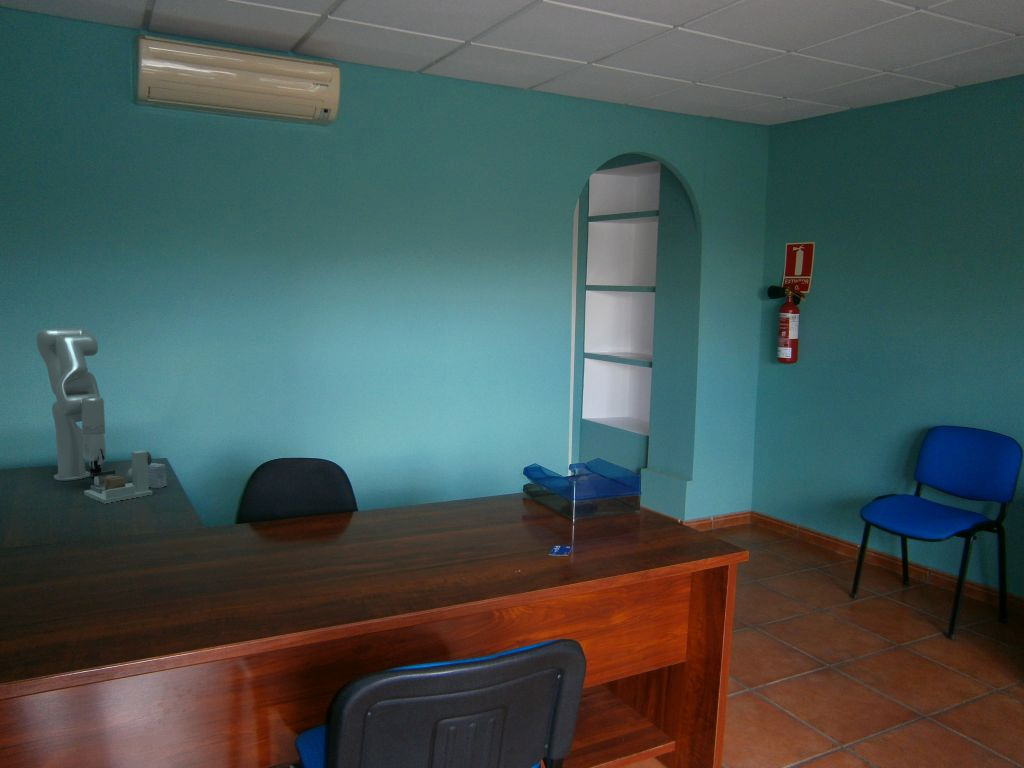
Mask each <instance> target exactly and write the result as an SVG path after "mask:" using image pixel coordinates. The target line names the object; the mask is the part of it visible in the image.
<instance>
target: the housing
mask: <svg viewBox="0 0 1024 768" xmlns="http://www.w3.org/2000/svg"><path fill="white" fill-rule="evenodd" d="M125 484H126V477H125V476H121V475H113V477H107V478H105V490H110V489H116V488H122V487H125Z"/></svg>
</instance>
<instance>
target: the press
mask: <svg viewBox="0 0 1024 768" xmlns="http://www.w3.org/2000/svg"><path fill="white" fill-rule="evenodd" d="M130 454H131V468H132V481H133V482H129V483H127V482H126V483H125V487H122V488H116V489H110V490H102V489H101V488H99V487H96V486H95V484H91V485H90V489H87V490H83V495H84V496H86V497H89V498H91V499H92V500H95V501H97V502H99V501H100V503H101V502H102V503H101V504H103V503H104V505H106V503H108V504H112V503H111V502H113V503H117V502H116V501H119V502H121V501H120V500H124V501H127V500H126V499H129V500H132V499H131V498H135V499H137V498H136V497H140V498H143V497H142V496H145V497H148V496H147V495H151V496H153V495H152V494H154V493H153V490H151V489H149V485H148V465H150V464H151V463H152V455H151V453H150V452H149V451H146V450H144V449H143V450H142V449H141V450H134V451H131V453H130Z"/></svg>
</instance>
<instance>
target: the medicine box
mask: <svg viewBox="0 0 1024 768" xmlns="http://www.w3.org/2000/svg"><path fill="white" fill-rule="evenodd" d="M166 469H167V467H166V464H163V463H155V462H154V463H153V462H151V464H150V465H148V485H149V487H151V489H157V488H159V489H162V488H164V486H166V487H167V472H166V471H167V470H166ZM161 487H162V488H161Z"/></svg>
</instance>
